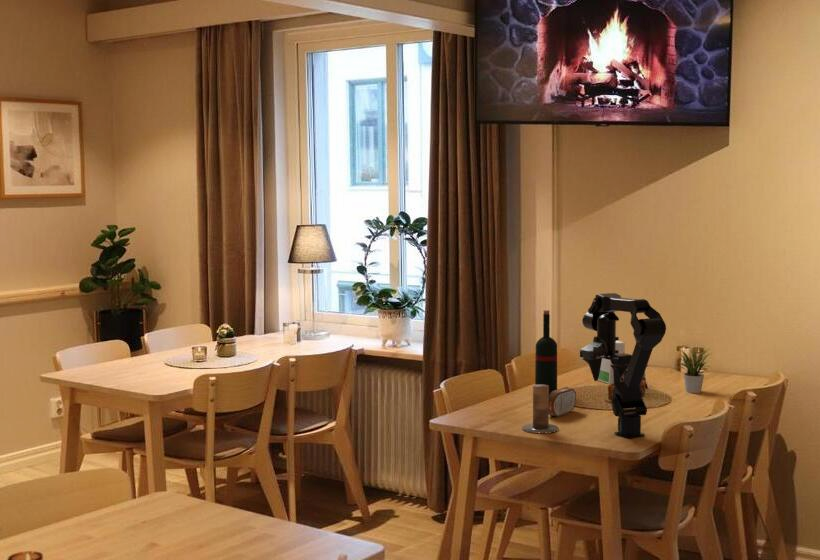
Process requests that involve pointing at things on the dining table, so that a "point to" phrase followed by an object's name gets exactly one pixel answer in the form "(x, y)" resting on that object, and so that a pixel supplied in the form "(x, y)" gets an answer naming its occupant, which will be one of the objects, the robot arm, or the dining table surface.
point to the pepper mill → (540, 406)
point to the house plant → (693, 372)
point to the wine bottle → (546, 357)
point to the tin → (562, 401)
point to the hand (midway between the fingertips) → (605, 383)
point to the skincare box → (605, 368)
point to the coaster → (530, 429)
